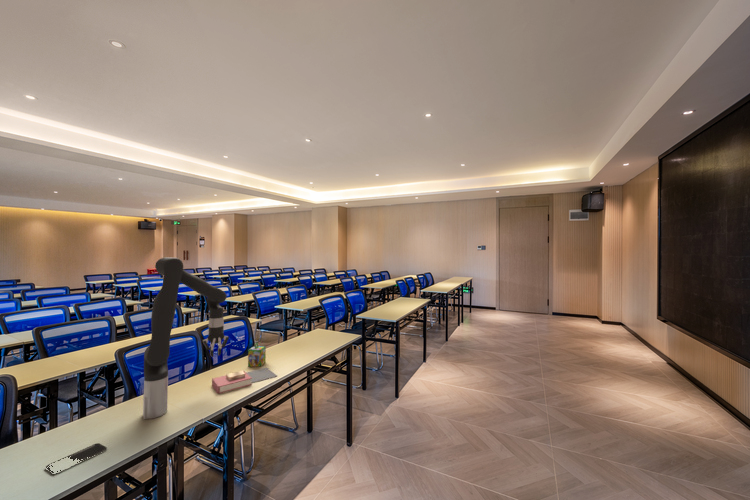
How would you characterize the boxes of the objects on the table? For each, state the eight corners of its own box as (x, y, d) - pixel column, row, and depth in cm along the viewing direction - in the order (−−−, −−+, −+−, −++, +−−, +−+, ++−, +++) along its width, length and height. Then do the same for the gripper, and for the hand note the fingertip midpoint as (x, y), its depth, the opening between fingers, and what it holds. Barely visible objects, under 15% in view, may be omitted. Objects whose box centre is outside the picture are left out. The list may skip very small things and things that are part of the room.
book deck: (218, 393, 162) (218, 386, 162) (211, 385, 173) (212, 378, 173) (251, 384, 174) (251, 377, 174) (244, 377, 185) (244, 370, 185)
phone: (44, 466, 105) (98, 442, 118) (44, 469, 105) (98, 445, 118) (53, 473, 102) (108, 448, 115) (53, 477, 102) (108, 451, 115)
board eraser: (228, 381, 170) (229, 377, 170) (226, 377, 174) (226, 374, 174) (245, 376, 176) (245, 373, 176) (242, 373, 180) (242, 370, 180)
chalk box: (260, 367, 202) (261, 345, 202) (247, 366, 202) (247, 345, 202) (266, 362, 211) (266, 341, 211) (253, 362, 211) (253, 341, 212)
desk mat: (251, 383, 176) (251, 382, 176) (241, 374, 189) (241, 373, 189) (277, 376, 186) (277, 375, 187) (266, 368, 200) (266, 367, 200)
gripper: (203, 328, 161) (203, 360, 160) (231, 324, 170) (230, 354, 170) (200, 326, 166) (200, 356, 166) (227, 322, 176) (227, 351, 175)
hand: (215, 355), depth 168 cm, fingers open, 3 cm apart
